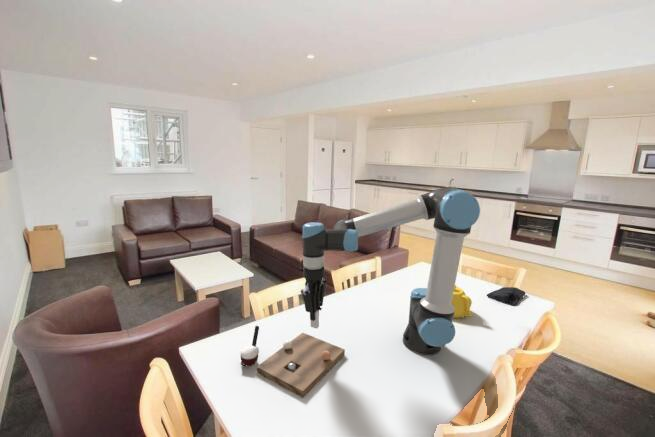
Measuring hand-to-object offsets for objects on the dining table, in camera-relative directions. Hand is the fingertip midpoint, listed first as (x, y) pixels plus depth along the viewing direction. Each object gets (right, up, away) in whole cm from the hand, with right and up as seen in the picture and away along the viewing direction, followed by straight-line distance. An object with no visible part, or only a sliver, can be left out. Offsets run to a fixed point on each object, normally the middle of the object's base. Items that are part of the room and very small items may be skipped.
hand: (314, 326), depth 116 cm
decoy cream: (-10, -8, +2) cm, 13 cm away
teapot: (+65, -6, +41) cm, 77 cm away
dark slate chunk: (+105, -4, +59) cm, 120 cm away
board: (-4, -13, -2) cm, 14 cm away
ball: (-8, -12, -7) cm, 16 cm away
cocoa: (-23, -12, -2) cm, 26 cm away
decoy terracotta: (+4, -9, -4) cm, 11 cm away
